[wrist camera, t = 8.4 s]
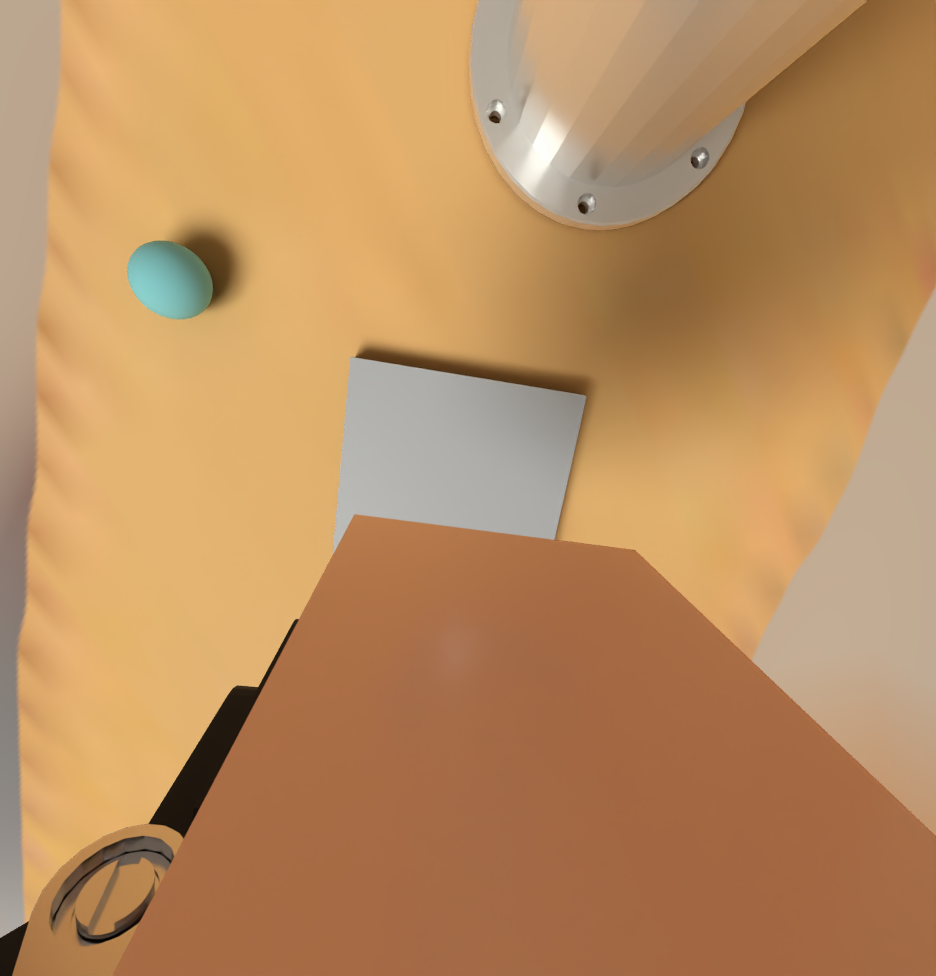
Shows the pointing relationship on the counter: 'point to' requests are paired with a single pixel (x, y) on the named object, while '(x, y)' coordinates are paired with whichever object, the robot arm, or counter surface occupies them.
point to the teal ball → (170, 279)
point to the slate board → (455, 450)
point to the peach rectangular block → (532, 790)
